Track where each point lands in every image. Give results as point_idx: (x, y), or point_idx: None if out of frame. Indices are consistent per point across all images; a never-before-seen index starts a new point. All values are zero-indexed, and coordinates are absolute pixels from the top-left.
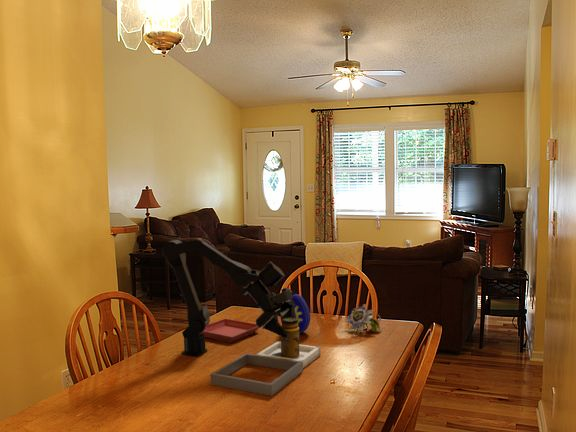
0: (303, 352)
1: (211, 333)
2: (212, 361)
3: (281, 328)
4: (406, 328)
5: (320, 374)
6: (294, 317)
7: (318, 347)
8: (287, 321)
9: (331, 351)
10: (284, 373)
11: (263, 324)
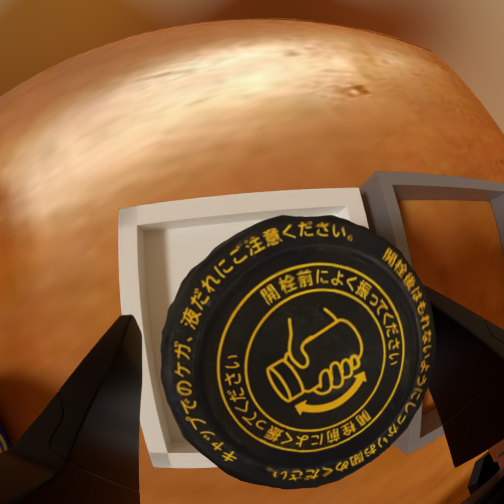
0: (175, 287)
1: None
2: (410, 500)
3: (471, 313)
4: None
5: (338, 128)
6: (57, 411)
7: (125, 215)
8: (433, 319)
9: (79, 203)
10: (470, 185)
11: (491, 459)
